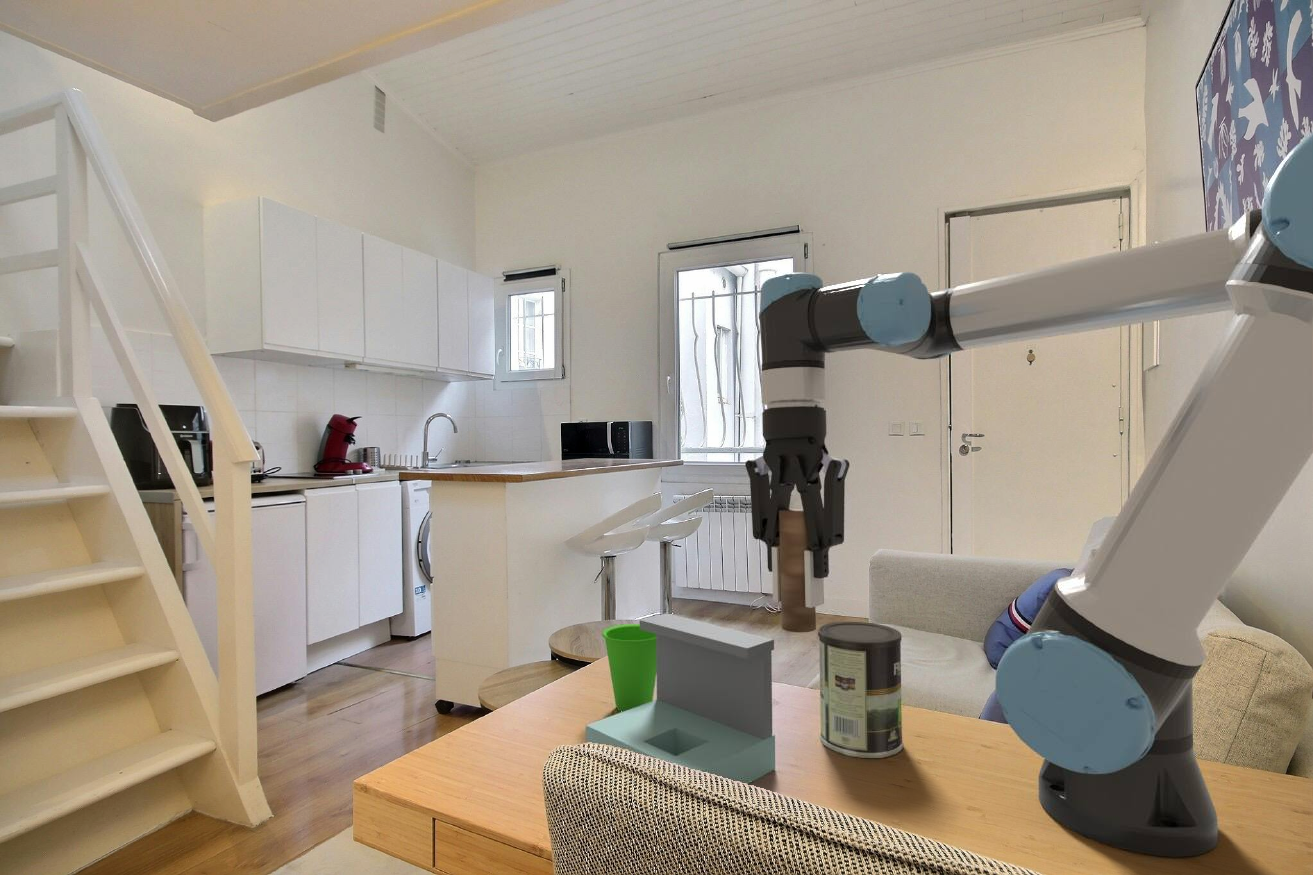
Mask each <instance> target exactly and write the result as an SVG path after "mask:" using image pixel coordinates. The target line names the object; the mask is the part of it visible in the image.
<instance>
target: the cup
mask: <svg viewBox="0 0 1313 875" xmlns="http://www.w3.org/2000/svg"><path fill="white" fill-rule="evenodd" d="M601 635H602V637H603V638H604V642H605V647H606V652H607V660H608V665H609V671H610V677H611V682H612V683H611V684H612V689H613V696H614V702H615V703H614V704H615V707H616V708H617V711H618V712H620V711H622V712H624V711H627V710H629V709H632V708H635V707H638V706H640V705H643V704H646V703H649V702H652V701H654V700H653V699H654V695H655V694H654V692H655V686H656V681H657V668H656V634H655V633H651V632H648V631H644V630H641V629H640V623H627V624H620V625H619V624H618V625H614V626H610V627H608V628H606V629H604V630H603V631H602V633H601Z"/></svg>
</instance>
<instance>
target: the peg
mask: <svg viewBox="0 0 1313 875" xmlns="http://www.w3.org/2000/svg"><path fill="white" fill-rule="evenodd" d="M779 531H780V574H781V601H780V606H781V607H780V609H781V610H780V613H781V629H782V630H784V631H785V632H790V633H810V632H814V631H815V630H817V623H816V622H817V617H816V607H812V608H809V607H806V604H805V561H804V551H805V550H808V549H807V547H809V546H810V543H809V538H808V532H807V527H806V522H805V517H804V512H803V508H789V509H784V510H779Z"/></svg>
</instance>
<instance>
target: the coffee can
mask: <svg viewBox="0 0 1313 875" xmlns="http://www.w3.org/2000/svg"><path fill="white" fill-rule="evenodd" d="M817 636H818V638H819V643H818V645H819V648H818V650H819V697H820V698H819V701H820V711H819V712H820V734H819V739H820V741H821V743H822V744H823V745H824V746H826V748H828V749H830V750H831V751H833V752H836V753H838V754H841V755H845V756H848V757H853V758H861V759H883V758H888V757H892V756H895V755H897V754H898V753H900V752H901V751H902V749H903V746H904V743H903V724H902V723H903V722H902V720H903V718H902V714H903V713H902V662H901V660H902V659H901V656H902V654H901V653H902V652H901V649H902V648H901V645H902V644H901V643H902V633H901V632H900V631H899V630H897V629H896V628H893V627H890V626H887V625H883V624H879V623H872V622H866V621H865V622H863V621H837V622H830V623H826V624H824V625H822V626H820V627H819V628H818V629H817Z"/></svg>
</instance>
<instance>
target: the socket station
mask: <svg viewBox="0 0 1313 875" xmlns="http://www.w3.org/2000/svg"><path fill="white" fill-rule="evenodd" d="M639 624H640V629H641V630H644V631H648V632H651V633H655V634H656V668H657V673H656V699H655V700H653V701H652V702H649V703H646V704H643V705H640V706H638V707H635V708H632V709H629V710H627V711H624V712H619V713H616V714H614V715H610V716H608V717H604V718H603V719H600V720H596V721H594V722H591V723H589V724H586V725H585V743H586V742H592V743H598V744H606V745H612V746H614V747H620V748H622V749H628V750H629V751H633V752H635V753H638V754H643V755H645V756H650V757H653V758H658V759H660V760H664V761H666V762H670V763H676V764H678V765H681V766H684V767H688V768H690V769H695V770H700V771H702V772H708V773H710V774H715V775H717V776H722V777H723V778H728V779H731V780H733V781H740V782H742V783H748V784H747V785H749V784H750V781H753V782H754V781H756V780H758V779H760V778H762V777H764V776H765V775H767V774H770V773H771V772H773V771H775V770H776V734H773V677H772V676H773V672H772V671H773V670H772V669H773V668H772V667H773V666H772V665H773V664H772V651H774V650H775V640H774V639H773V638H769V637H765V636H762V635H757V634H754V633H753V634H752V633H748V632H745V631H741V630H736V629H732V628H729V627H728V628H727V627H723V626H721V625H717V624H716V625H715V624H712V623H709V622H704V621H700V620H696V619H692V618H687V617H684V616H679V615H675V614H671V613H663V614H659V615H655V616H651V617H646V618H642V619H639ZM774 769H775V770H774ZM772 770H773V771H772Z"/></svg>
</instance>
